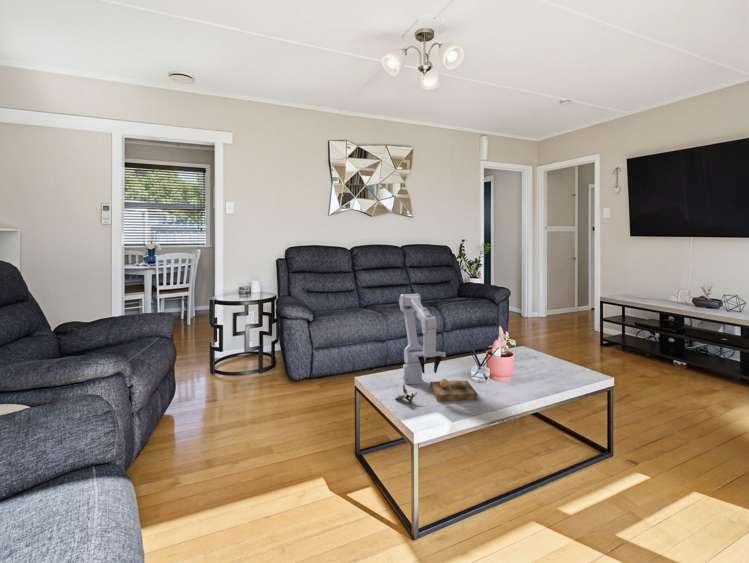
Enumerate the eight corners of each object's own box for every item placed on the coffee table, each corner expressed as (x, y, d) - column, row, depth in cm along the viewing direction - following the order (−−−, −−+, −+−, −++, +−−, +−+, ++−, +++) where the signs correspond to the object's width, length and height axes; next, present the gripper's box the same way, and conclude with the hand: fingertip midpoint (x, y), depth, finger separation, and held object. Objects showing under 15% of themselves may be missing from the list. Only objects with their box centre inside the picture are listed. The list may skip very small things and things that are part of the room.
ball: (440, 389, 183) (440, 380, 182) (438, 386, 187) (439, 377, 186) (449, 389, 183) (449, 380, 182) (447, 385, 187) (447, 377, 186)
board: (436, 401, 177) (437, 394, 176) (430, 387, 193) (430, 381, 192) (477, 400, 178) (477, 393, 177) (467, 386, 194) (467, 380, 193)
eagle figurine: (419, 398, 178) (405, 388, 184) (415, 388, 174) (401, 379, 180) (408, 410, 175) (394, 400, 181) (404, 400, 171) (389, 391, 177)
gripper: (414, 346, 178) (414, 375, 179) (447, 345, 178) (447, 375, 180) (412, 341, 185) (412, 370, 186) (443, 341, 185) (443, 369, 187)
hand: (429, 372), depth 183 cm, fingers open, 5 cm apart
